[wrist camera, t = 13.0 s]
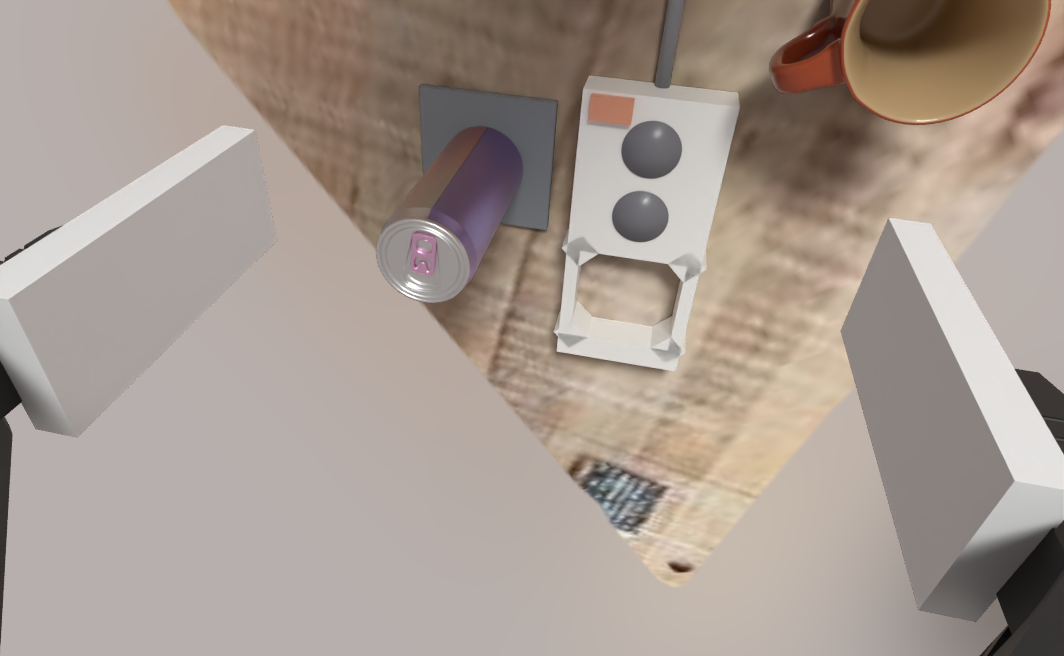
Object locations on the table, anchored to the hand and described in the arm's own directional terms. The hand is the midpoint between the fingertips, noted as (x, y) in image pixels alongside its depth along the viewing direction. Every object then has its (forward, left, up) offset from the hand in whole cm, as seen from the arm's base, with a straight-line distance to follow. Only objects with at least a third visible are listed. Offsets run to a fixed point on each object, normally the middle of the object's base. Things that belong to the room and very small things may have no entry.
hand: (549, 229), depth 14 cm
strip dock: (+14, +2, -35) cm, 37 cm away
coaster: (+14, -10, -35) cm, 39 cm away
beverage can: (+14, -10, -34) cm, 38 cm away
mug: (+1, +13, -35) cm, 37 cm away
